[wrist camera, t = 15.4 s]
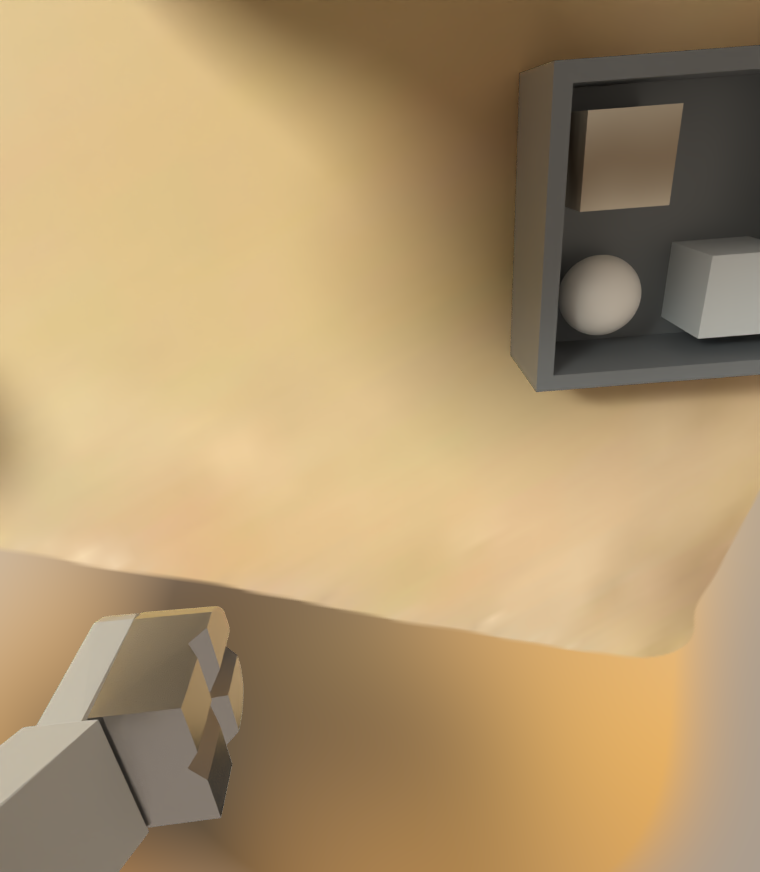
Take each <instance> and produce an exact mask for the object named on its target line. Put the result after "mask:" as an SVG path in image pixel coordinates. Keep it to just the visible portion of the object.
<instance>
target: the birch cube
mask: <svg viewBox="0 0 760 872" xmlns="http://www.w3.org/2000/svg"><path fill="white" fill-rule="evenodd" d="M683 104H684V103H678V104H665V105H652V106H638V107H625V108H612V109H599V110H586V111H576V112H571V122H570V137H569V152H568V166H567V181H566V196H565V207H568V208H570V209H573V210H576V211H579V212H586V211H599V210H612V209H625V208H638V207H651V206H664V205H669V203H670V196H671V189H672V182H673V175H674V168H675V161H676V153H677V146H678V139H679V132H680V125H681V118H682V111H683Z"/></svg>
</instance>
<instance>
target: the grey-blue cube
mask: <svg viewBox="0 0 760 872" xmlns="http://www.w3.org/2000/svg"><path fill="white" fill-rule="evenodd" d="M661 317H663V318H664V319H666V320H668V321H669V322H671V323H673V324H674V325H676V326H678V327H679V328H681V329H683V330H684V331H686V332H688V333H689V334H691V335H693V336H694V337H696V338H698V339H700V338H713V337H726V336H739V335H752V334H760V239H757V238H753V237H749V236H743V237H730V238H717V239H704V240H691V241H678V242H672V246H671V253H670V259H669V266H668V273H667V280H666V286H665V293H664V300H663V307H662V313H661Z"/></svg>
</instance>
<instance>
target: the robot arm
mask: <svg viewBox="0 0 760 872" xmlns="http://www.w3.org/2000/svg"><path fill="white" fill-rule="evenodd" d="M229 631H230V628H229V625H228V622H227V619H226V616H225V613H224V610H223V609H221V608H220V607H218V606H213V607H200V608H189V609H177V610H166V611H153V612H142V613H141V614H126V615H115V616H104V617H102V618H101V619H99V620H98V621H97V622H95V623H94V624H93V626H92V627H91V629H90V631H89V633H88V634H87V636H86V638H85V640H84V642H83V644H82V645H81V647H80V649H79V651H78V652H77V654H76V656H75V658H74V659H73V661H72V663H71V665H70V667H69V669H68V670H67V672H66V674H65V676H64V677H63V679H62V681H61V683H60V684H59V686H58V688H57V690H56V692H55V693H54V695H53V697H52V699H51V701H50V702H49V704H48V706H47V708H46V710H45V711H44V713H43V715H42V717H41V718H40V720H39V722H38V724H37V726H31V727H23V728H22V729H21V730H19V731H18V732H17V733H15V734H14V735H13V736H12V737H10V738H9V739H8V740H7V741H6V742H4V743H3V744H2V745H0V872H119V871H120V869H121V868H122V867H123V865H124V864H125V863H126V861H127V860H128V859H129V857H130V856H131V855H132V854H133V852H134V851H135V849H136V848H137V847H138V846H139V844H140V843H141V842H142V840H143V839H144V838H145V836H146V835H147V834H148V829H147V828H148V827H155V826H162V825H170V824H178V823H185V822H192V821H200V820H208V819H215V818H221V815H222V810H223V806H224V800H225V796H226V791H227V786H228V782H229V777H230V772H231V767H232V762H231V759H230V755H229V752H228V749H227V746H226V744H228V743H229V741H230V740H231V739H232V738H233V737H234V736H235V735H236V734H237V732H238V731H239V728H240V722H241V717H242V711H243V679H242V672H241V667H240V663H239V659H238V656H237V654H235V653H234V652H233V651H231V650H230V649H229V648H227V647H226V643H227V639H228V635H229Z"/></svg>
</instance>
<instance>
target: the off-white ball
mask: <svg viewBox="0 0 760 872" xmlns="http://www.w3.org/2000/svg"><path fill="white" fill-rule="evenodd" d="M641 292H642V291H641V284H640V280H639V277H638V275H637V273H636V272H635V270H634V269H633V268H632V266H630V265H629V264H628V263H627V262H625V261H624V260H622V259H620V258H618V257H615V256H611V255H594V256H590V257H587V258H585V259H583V260H581V261H579V262H578V263H576V264H575V265H574V266H573V267H571V268H570V269H569V271H568V272H567V273H566V275H565V276H564V278H563V280H562V282H561V284H560V287H559V299H558V305H559V309H560V312H561V314H562V316H563V318H564V319H565V321H566V322H567V323H568V324H569V325H570V326H571V327H572V328H574V329H576V330H577V331H579V332H582V333H585V334H588V335H605V334H609V333H612V332H614V331H616V330H618V329H620V328H622V327H623V326H624V325H626V324H627V323H628V322H629V321H630V320H631V319H632V317H633V316H634V315H635V313H636V311H637V309H638V307H639V304H640V300H641Z"/></svg>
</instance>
